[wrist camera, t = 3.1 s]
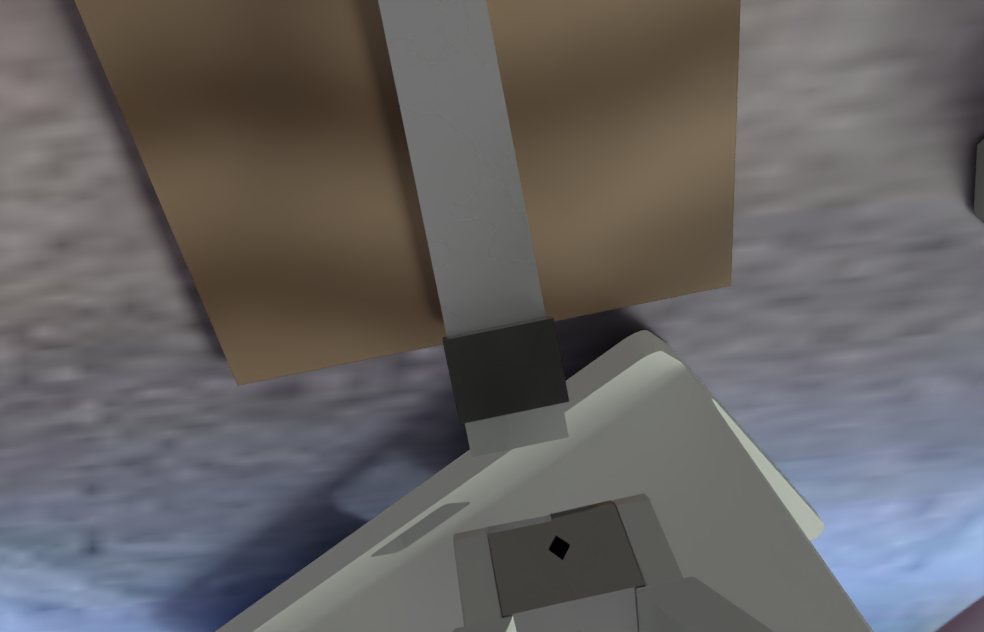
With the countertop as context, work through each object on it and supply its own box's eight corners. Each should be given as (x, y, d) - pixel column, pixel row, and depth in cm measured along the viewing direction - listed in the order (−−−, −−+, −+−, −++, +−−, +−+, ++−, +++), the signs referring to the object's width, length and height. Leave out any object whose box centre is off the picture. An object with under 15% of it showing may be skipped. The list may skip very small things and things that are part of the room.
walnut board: (-3, -227, 19) (-23, -228, 18) (732, -353, 19) (752, -361, 18) (241, 365, 29) (237, 385, 28) (718, 269, 29) (731, 285, 28)
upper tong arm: (312, -200, 19) (296, -255, 17) (461, -226, 19) (463, -284, 17) (446, 446, 20) (447, 470, 18) (582, 417, 20) (597, 438, 18)
